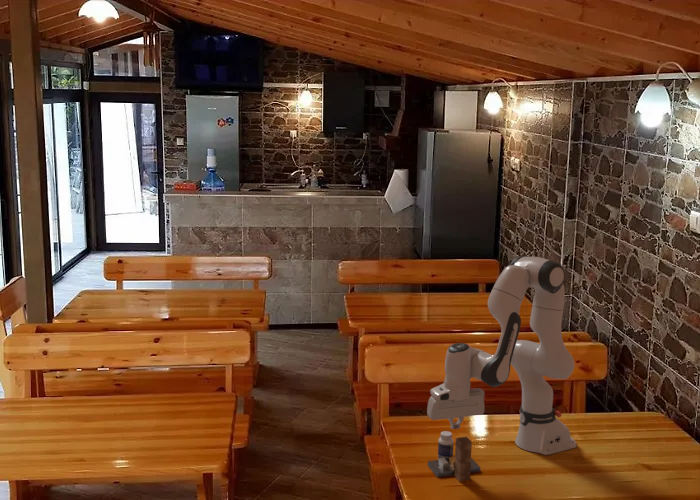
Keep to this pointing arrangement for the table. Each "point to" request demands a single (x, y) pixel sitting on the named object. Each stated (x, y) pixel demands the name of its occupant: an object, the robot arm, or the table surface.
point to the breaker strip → (448, 466)
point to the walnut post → (463, 458)
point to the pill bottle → (445, 445)
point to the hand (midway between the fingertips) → (455, 428)
